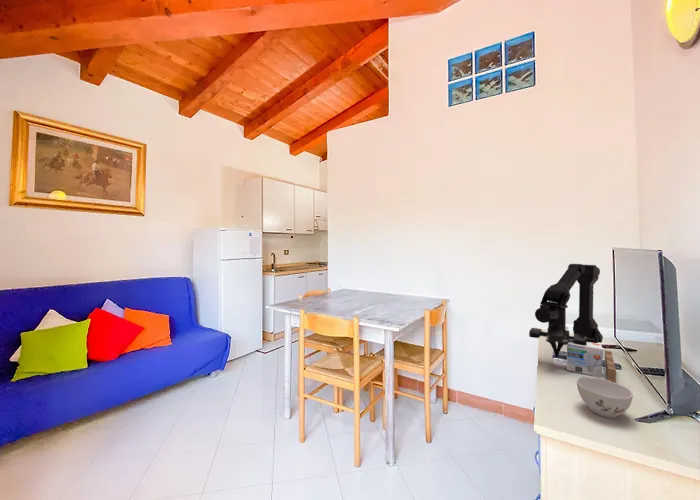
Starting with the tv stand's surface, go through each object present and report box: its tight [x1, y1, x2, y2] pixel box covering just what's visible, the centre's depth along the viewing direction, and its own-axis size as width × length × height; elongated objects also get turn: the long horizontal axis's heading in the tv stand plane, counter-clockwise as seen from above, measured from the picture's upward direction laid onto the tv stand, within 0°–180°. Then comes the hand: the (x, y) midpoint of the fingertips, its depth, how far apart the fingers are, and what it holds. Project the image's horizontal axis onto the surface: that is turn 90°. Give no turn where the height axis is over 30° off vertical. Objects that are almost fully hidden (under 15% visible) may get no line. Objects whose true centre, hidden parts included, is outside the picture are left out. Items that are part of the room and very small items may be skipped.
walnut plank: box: [604, 350, 617, 383], centre depth 107 cm, size 20×2×6 cm, turn 141°
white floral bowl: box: [576, 376, 634, 419], centre depth 86 cm, size 15×12×8 cm
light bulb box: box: [566, 340, 604, 378], centre depth 111 cm, size 11×7×11 cm, turn 55°
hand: (556, 357), depth 117 cm, fingers closed
